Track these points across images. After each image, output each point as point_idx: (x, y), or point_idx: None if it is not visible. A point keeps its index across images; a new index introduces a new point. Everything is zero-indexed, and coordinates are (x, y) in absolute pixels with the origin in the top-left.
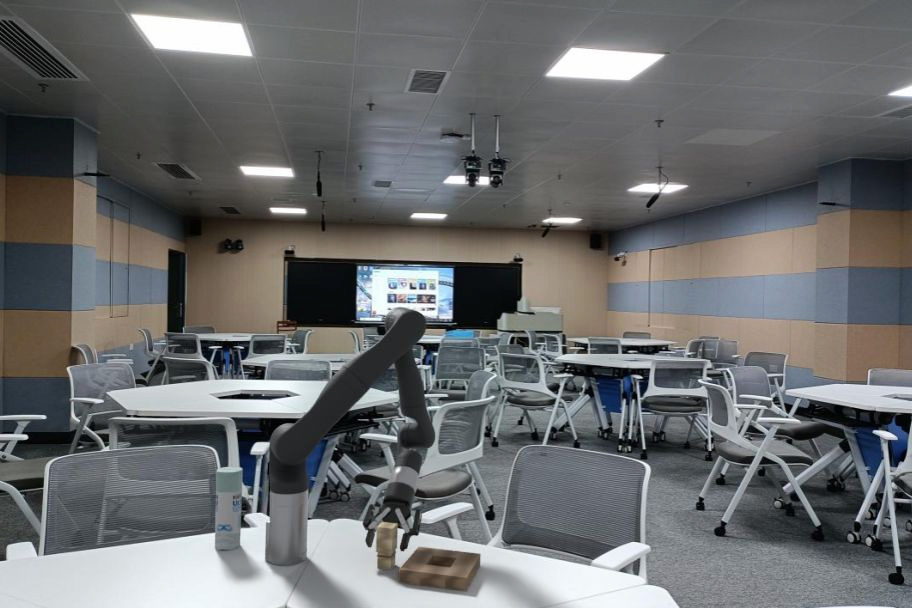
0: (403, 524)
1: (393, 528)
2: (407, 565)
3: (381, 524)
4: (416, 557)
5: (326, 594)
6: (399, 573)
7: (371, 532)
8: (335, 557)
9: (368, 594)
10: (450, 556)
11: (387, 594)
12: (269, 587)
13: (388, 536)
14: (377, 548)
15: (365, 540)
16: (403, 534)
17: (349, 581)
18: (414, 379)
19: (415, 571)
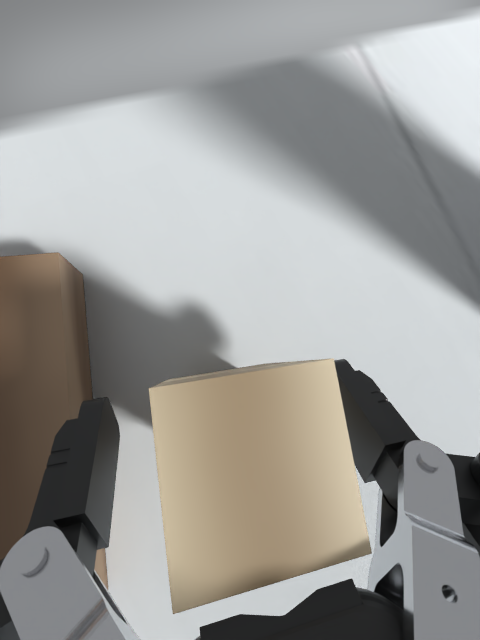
0: (82, 632)
1: (156, 434)
2: (32, 316)
3: (331, 457)
4: (24, 453)
5: (282, 103)
6: (65, 261)
7: (376, 420)
8: (448, 391)
9: (150, 140)
10: None
11: (79, 160)
12: (454, 100)
13: (193, 378)
14: (262, 364)
15: (367, 377)
16: (80, 500)
17: (272, 213)
18: None
19: None
